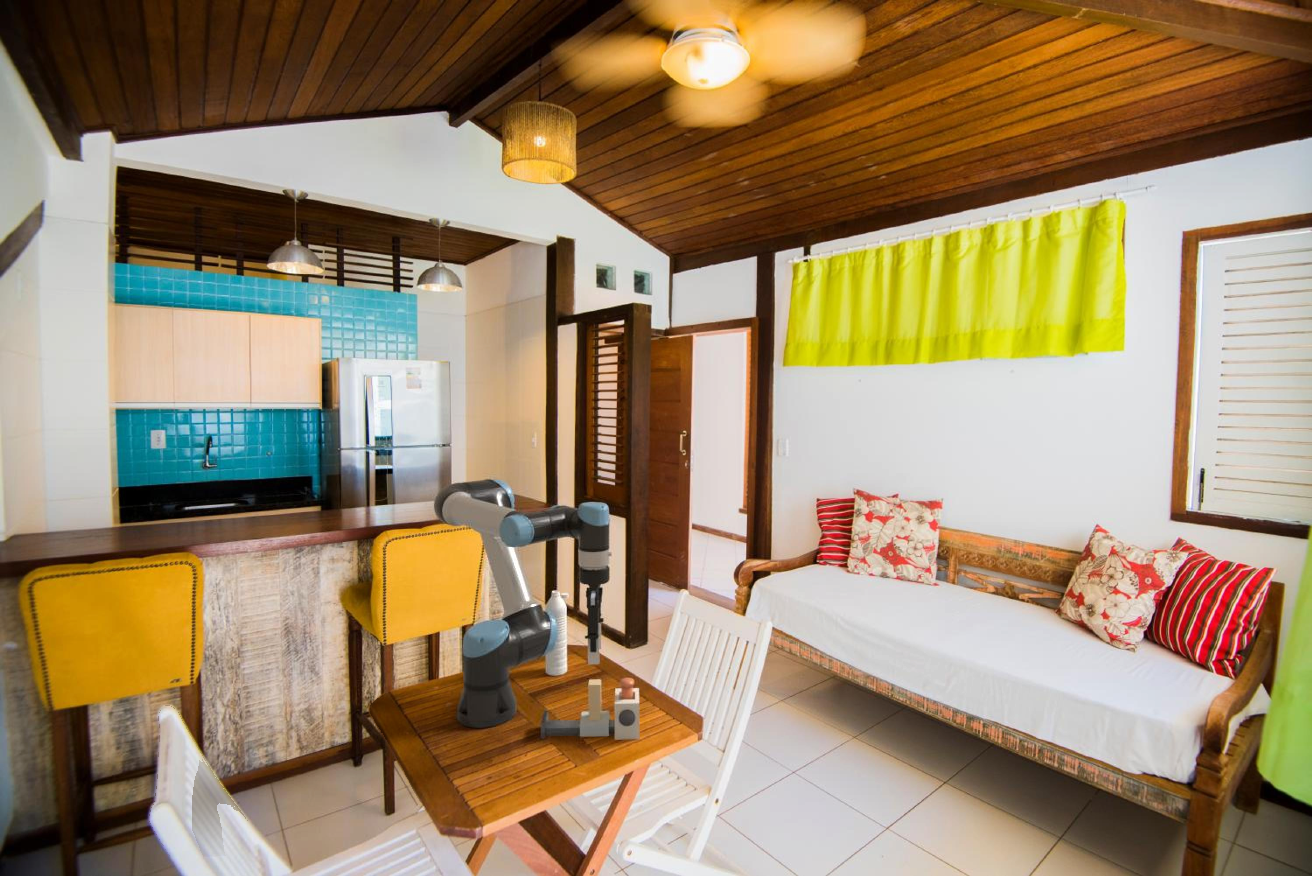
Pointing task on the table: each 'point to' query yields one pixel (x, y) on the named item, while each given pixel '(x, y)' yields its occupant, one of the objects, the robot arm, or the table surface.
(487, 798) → the table surface
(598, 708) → the carriage
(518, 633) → the robot arm
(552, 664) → the water bottle
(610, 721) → the rail
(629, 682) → the button
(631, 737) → the grey box housing
